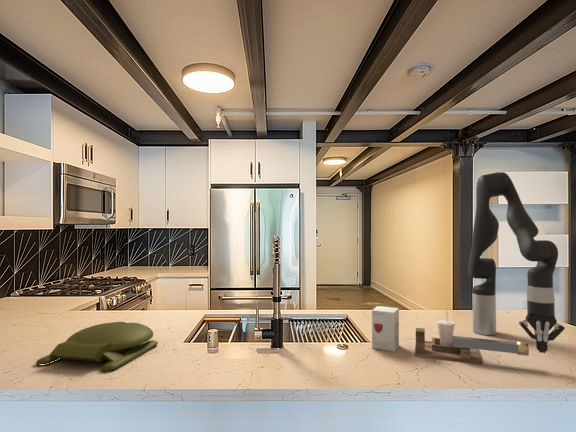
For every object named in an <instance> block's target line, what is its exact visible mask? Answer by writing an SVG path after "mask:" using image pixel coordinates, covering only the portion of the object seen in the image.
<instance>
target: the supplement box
mask: <svg viewBox="0 0 576 432" xmlns="http://www.w3.org/2000/svg"><path fill="white" fill-rule="evenodd" d="M399 346H400V308H399V307H390V306H383V305H382V306H381V305H376V307H374V308H373V309H372V310H371V348H372V349H375V350H376V349H377V350H381V351H387V352H396V351H397V349H398V348H399Z"/></svg>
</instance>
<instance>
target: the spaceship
mask: <svg viewBox="0 0 576 432" xmlns="http://www.w3.org/2000/svg"><path fill="white" fill-rule="evenodd" d="M153 337H154V331H153V329H152V328H150V327H149V326H147V325H145V324H142V323H139V322H125V321H114V322H113V321H112V322H111V321H110V322H104V323H100V324H95V325H91V326H89V327H85V328H83V329H81V330H78V331H76V332H74V333H73V334H71V335H70V336H69V337H68V338H67V339H66V340H65V341H64V342H61V343H58V344H57V345H56V346H55V348H54V349H53V350H52V351H51V352H50V353H49V354H48V355H45V356H43V357H41V358H39V359H37V360H36V361H35V364H36V365H37V364H47V363H50V362H52V361H55V360H57V359H59V358H60V360H63V359H64V360H73V361H82V362H83V361H86V362H94V363H95V362H98V363H101V362H102V363H103V362H104V361H105V360H107V361H108V362H106V363H104V364H103V365H102V366H101V371H102V372H104V371H110V372H113V371H112V370H114V371H116V370H118V369H120V368H121V367H123V366H124V365H123V364H125V363H126V364H128V363H130V362H131V361H133V360H134V358H135V359H136V357H137V356H138V357H140V356H142V355H143V354H142V353H144V352H145V353H147V352H148V351H147V350H149V349H150V350H152V349H153V348H152V347H154V346H156V345H157V344H158V343H159V342H158V341H157V340H152V338H153ZM157 346H158V345H157ZM157 346H156V347H157ZM132 347H135V348H132ZM128 348H132V349H131V350H129V351H126V352H125V353H123V354H122V353H121V352H119V350H124V349H128ZM151 348H152V349H151ZM154 348H155V347H154ZM150 350H149V351H150ZM146 351H147V352H146ZM145 353H144V354H145ZM141 354H142V355H141ZM139 355H140V356H139ZM138 357H137V358H138ZM132 359H133V360H132ZM130 360H131V361H130ZM129 361H130V362H129ZM127 362H128V363H127ZM126 364H125V365H126ZM122 365H123V366H122ZM120 366H121V367H120ZM117 368H118V369H117ZM115 369H116V370H115Z"/></svg>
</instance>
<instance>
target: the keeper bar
mask: <svg viewBox="0 0 576 432" xmlns="http://www.w3.org/2000/svg"><path fill="white" fill-rule="evenodd" d="M452 344H453V347H462V348H471V349H477V350H479V351H480V350H481V351H491V352H499V353H500V352H501V353H506V354H508V353H509V354H516V355H518V356H527V357H529V356H530V348H529V342H528V341H518V340H516V341H509V340H496V339H488V338H478V337H468V336H460V335H459V336H458V335H453V336H452Z"/></svg>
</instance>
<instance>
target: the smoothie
mask: <svg viewBox="0 0 576 432" xmlns="http://www.w3.org/2000/svg"><path fill="white" fill-rule="evenodd" d="M445 313H446V314H445V317H446V318H445V319H446V320H444V319H443V320H437V321H436V325H437V329H438V336H439V337H438V338H440V344H441V345H443V346H452V336H454V327H456V325H455V322H454V321H451V320H449V312H448V310H446V311H445Z"/></svg>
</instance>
